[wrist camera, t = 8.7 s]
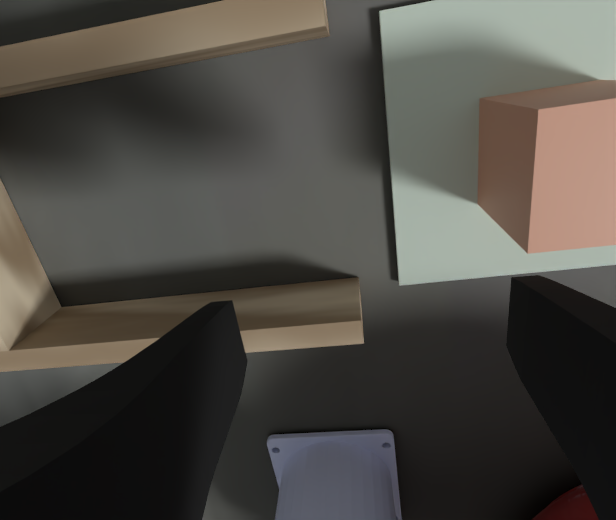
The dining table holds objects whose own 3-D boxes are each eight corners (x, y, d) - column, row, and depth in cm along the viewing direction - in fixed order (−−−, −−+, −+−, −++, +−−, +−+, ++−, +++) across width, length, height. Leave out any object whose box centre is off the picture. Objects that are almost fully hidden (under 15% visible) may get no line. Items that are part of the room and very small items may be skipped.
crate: (360, 297, 21) (364, 343, 18) (51, 326, 24) (-2, 371, 20) (325, 1, 16) (320, -20, 12) (-72, 80, 18) (-174, 82, 15)
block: (585, 191, 18) (680, 238, 13) (477, 204, 18) (527, 253, 13) (599, 79, 16) (717, 83, 11) (479, 98, 16) (538, 109, 11)
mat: (657, 256, 19) (663, 259, 19) (398, 281, 21) (399, 285, 20) (725, -55, 14) (735, -58, 14) (378, 12, 16) (379, 10, 15)
